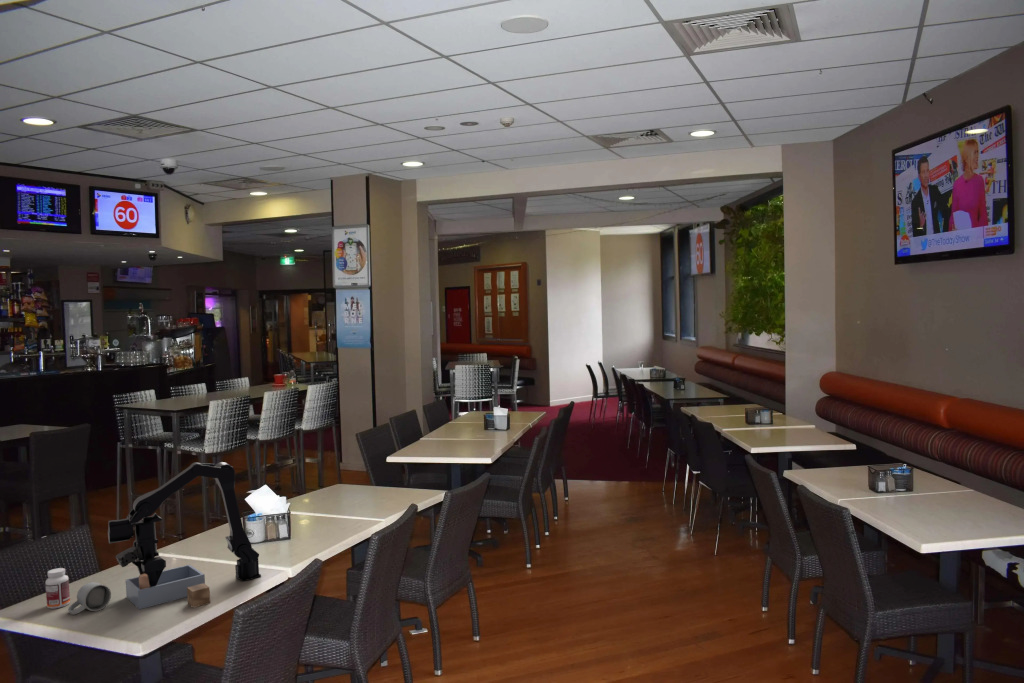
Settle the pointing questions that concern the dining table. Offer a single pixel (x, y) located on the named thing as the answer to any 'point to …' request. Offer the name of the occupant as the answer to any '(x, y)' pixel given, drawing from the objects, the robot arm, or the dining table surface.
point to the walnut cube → (198, 595)
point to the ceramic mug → (91, 598)
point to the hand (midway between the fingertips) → (148, 586)
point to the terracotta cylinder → (143, 581)
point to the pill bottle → (57, 589)
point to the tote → (164, 586)
